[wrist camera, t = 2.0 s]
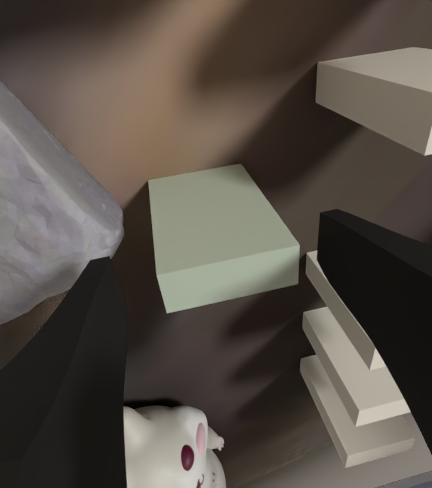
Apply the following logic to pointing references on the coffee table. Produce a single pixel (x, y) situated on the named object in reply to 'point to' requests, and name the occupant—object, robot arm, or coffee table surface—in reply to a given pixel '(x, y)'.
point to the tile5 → (352, 372)
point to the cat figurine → (171, 448)
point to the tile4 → (342, 314)
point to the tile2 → (383, 93)
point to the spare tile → (217, 238)
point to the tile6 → (342, 428)
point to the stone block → (46, 213)
